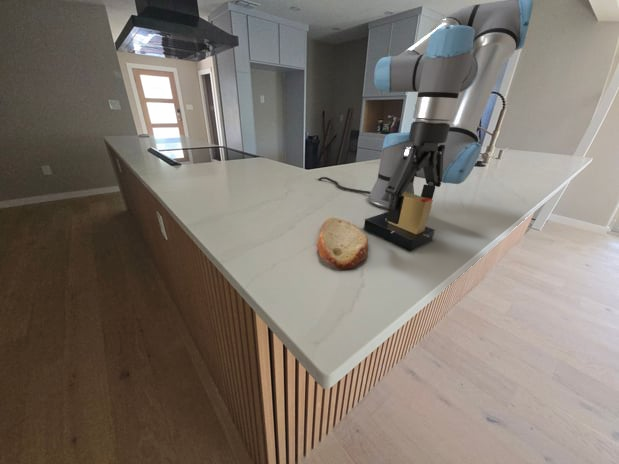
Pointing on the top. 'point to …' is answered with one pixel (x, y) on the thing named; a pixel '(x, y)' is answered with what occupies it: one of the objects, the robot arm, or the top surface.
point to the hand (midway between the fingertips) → (408, 215)
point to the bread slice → (342, 244)
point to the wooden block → (414, 213)
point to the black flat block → (397, 233)
